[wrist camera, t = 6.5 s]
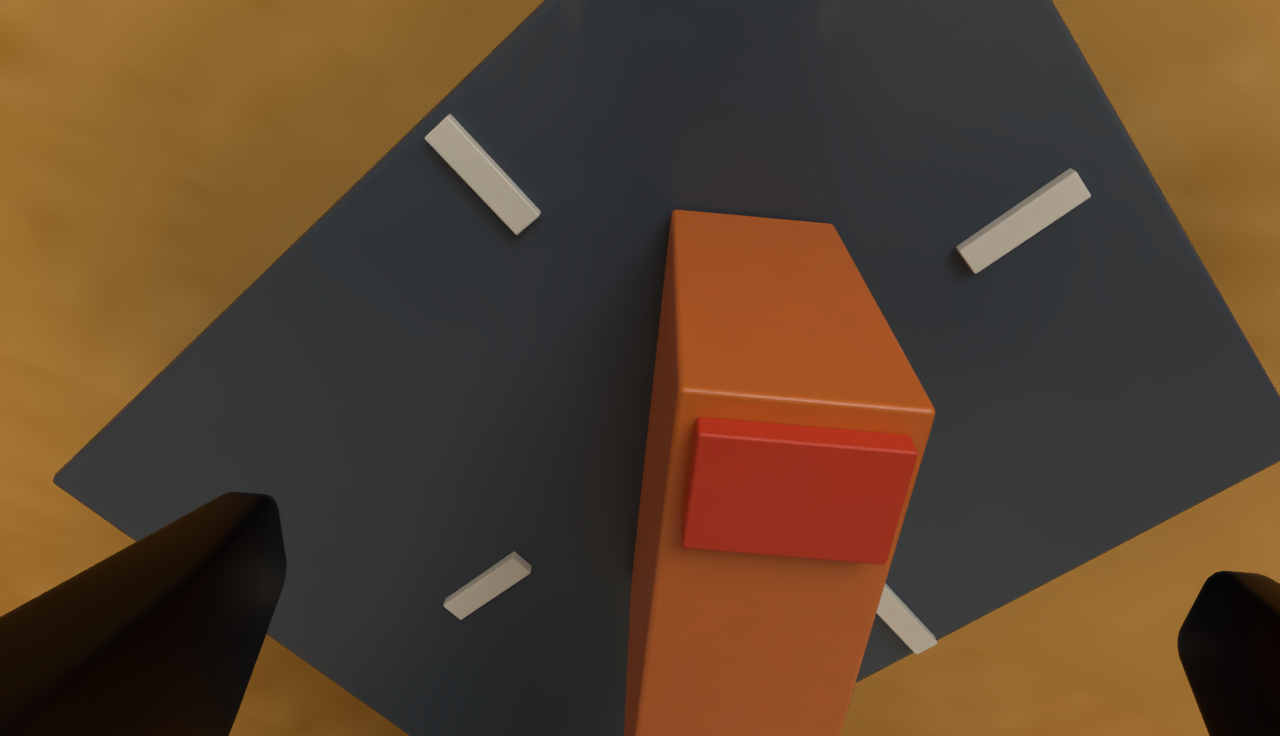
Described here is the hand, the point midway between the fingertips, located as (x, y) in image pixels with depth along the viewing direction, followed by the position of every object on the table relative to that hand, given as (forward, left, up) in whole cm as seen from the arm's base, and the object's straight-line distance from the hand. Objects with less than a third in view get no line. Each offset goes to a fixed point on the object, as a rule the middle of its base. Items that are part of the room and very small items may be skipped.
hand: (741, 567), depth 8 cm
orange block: (0, 0, -3) cm, 3 cm away
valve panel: (-1, 0, -6) cm, 6 cm away
